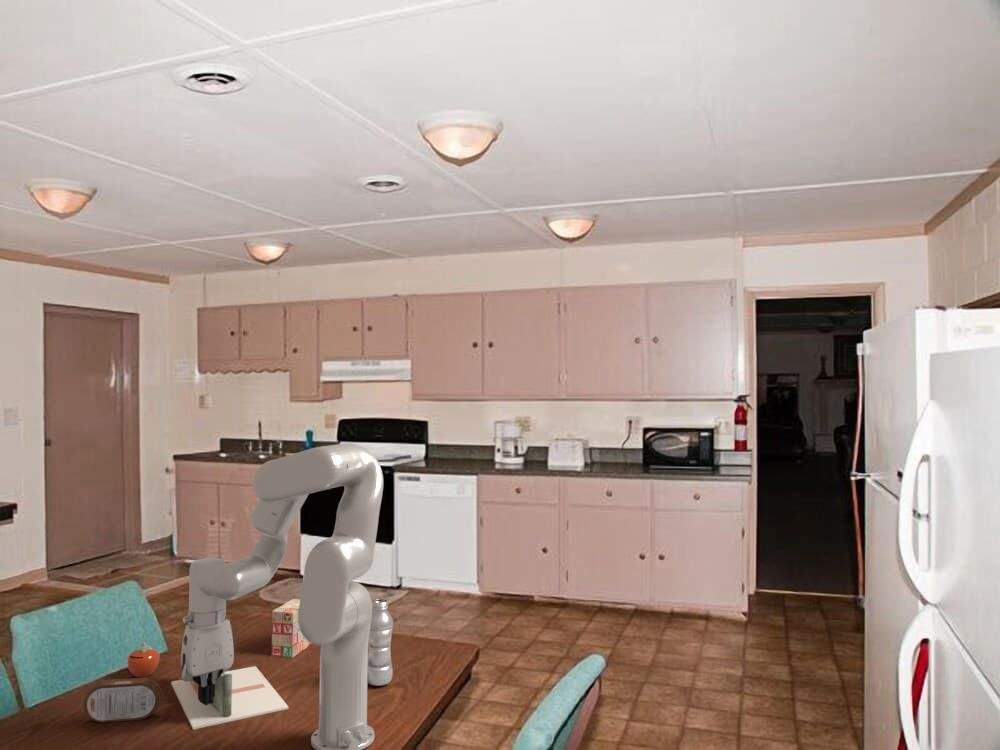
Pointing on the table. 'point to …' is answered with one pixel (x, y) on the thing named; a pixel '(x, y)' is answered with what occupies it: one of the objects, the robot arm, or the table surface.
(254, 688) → the card
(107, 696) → the tin
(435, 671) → the table surface
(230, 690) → the swing panel
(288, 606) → the stack of blocks
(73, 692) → the table surface
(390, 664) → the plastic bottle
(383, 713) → the table surface
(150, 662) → the tomato
